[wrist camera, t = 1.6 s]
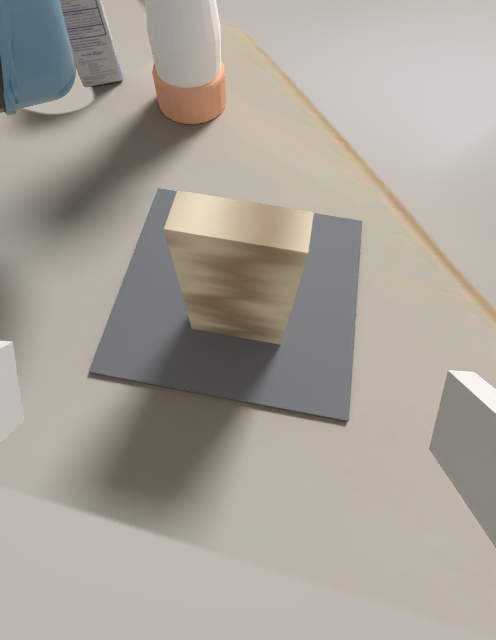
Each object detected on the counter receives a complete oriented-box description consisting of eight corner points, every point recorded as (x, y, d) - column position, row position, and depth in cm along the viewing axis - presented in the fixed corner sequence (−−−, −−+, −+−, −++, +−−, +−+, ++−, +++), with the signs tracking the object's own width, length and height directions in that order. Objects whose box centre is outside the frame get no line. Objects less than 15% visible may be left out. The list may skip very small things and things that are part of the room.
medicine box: (124, 82, 41) (97, -13, 34) (83, 89, 41) (46, -7, 33) (113, 42, 45) (87, -55, 37) (75, 47, 44) (40, -50, 36)
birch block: (191, 328, 29) (163, 228, 18) (199, 300, 30) (177, 190, 19) (281, 344, 28) (308, 253, 17) (285, 315, 29) (313, 211, 19)
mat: (90, 372, 27) (89, 371, 27) (158, 190, 35) (158, 188, 35) (347, 421, 26) (348, 420, 26) (361, 223, 34) (362, 221, 34)
